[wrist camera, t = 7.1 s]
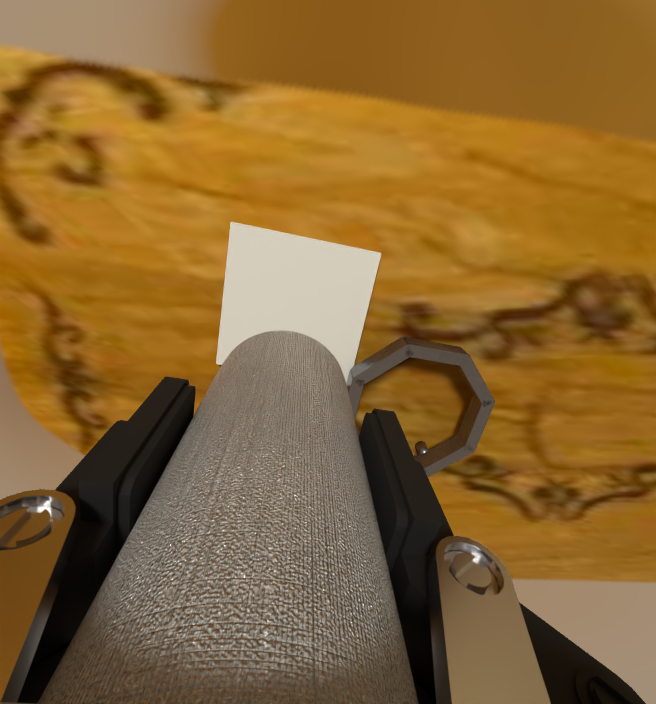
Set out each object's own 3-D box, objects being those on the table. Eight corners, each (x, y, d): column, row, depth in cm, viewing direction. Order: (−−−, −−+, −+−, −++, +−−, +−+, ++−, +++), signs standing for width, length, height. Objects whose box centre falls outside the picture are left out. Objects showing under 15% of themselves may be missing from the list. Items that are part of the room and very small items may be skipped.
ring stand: (491, 347, 25) (615, 441, 15) (430, 507, 30) (492, 658, 20) (357, 323, 24) (393, 406, 14) (316, 492, 29) (321, 645, 19)
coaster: (379, 252, 23) (381, 253, 22) (347, 381, 26) (348, 385, 25) (232, 221, 22) (230, 222, 21) (218, 360, 25) (216, 363, 24)
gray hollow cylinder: (269, 461, 14) (193, 978, 5) (191, 374, 13) (-158, 874, 3) (368, 402, 14) (518, 869, 4) (298, 302, 12) (263, 669, 2)
